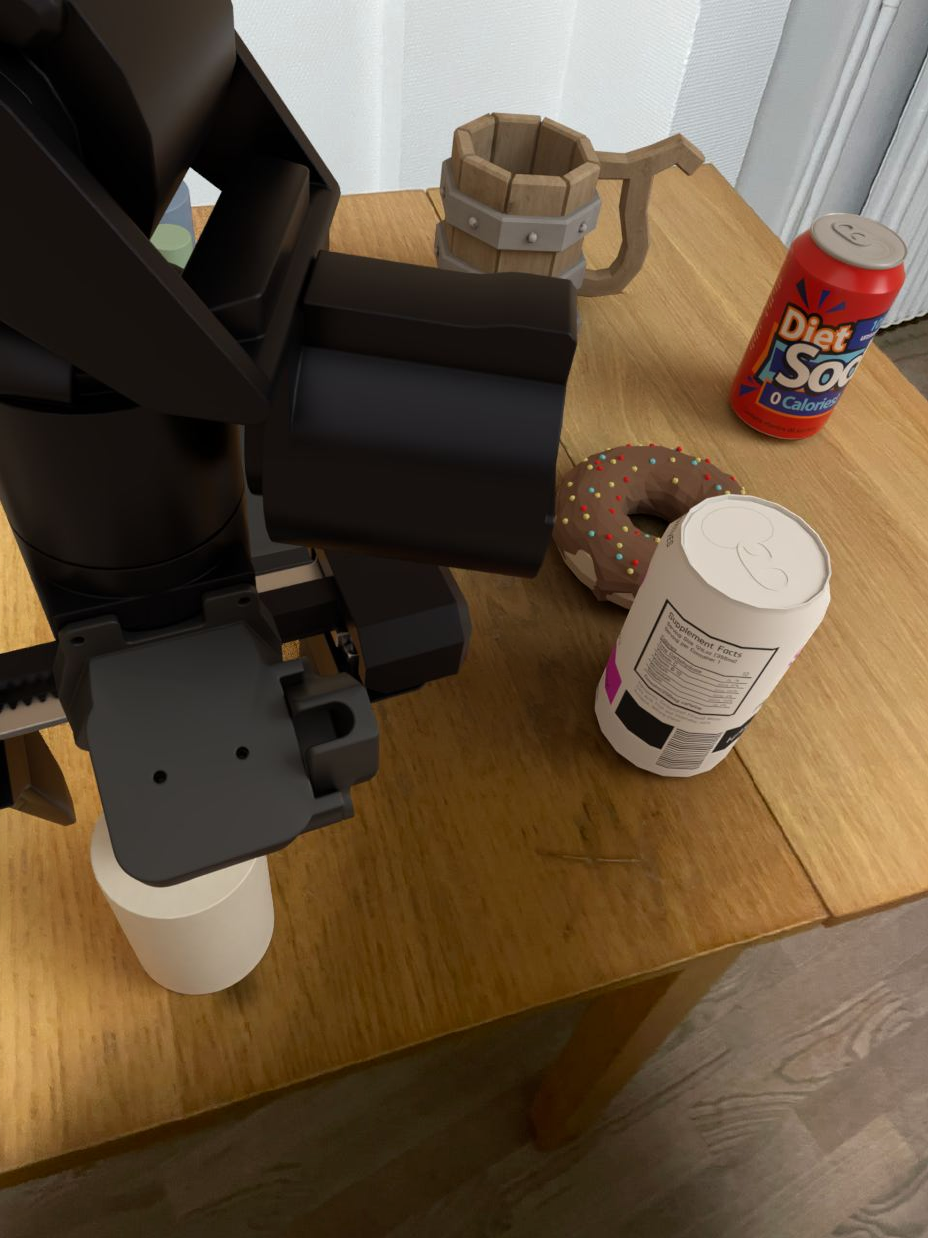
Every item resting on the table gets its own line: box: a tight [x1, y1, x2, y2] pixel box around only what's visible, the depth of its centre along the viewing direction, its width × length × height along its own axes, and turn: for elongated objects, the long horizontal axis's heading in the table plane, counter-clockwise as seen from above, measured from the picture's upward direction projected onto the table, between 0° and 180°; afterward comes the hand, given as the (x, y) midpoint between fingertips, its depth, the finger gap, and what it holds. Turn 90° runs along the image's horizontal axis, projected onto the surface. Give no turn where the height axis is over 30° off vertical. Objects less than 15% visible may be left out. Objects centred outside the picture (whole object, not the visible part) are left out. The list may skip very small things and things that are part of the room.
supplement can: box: [594, 494, 832, 778], centre depth 47 cm, size 8×8×15 cm
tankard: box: [433, 112, 706, 336], centre depth 70 cm, size 20×13×15 cm, turn 97°
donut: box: [551, 443, 747, 610], centre depth 59 cm, size 14×14×5 cm
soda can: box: [728, 212, 908, 440], centre depth 66 cm, size 8×8×15 cm
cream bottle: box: [89, 810, 275, 996], centre depth 38 cm, size 6×6×13 cm
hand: (195, 776), depth 35 cm, fingers open, 9 cm apart
